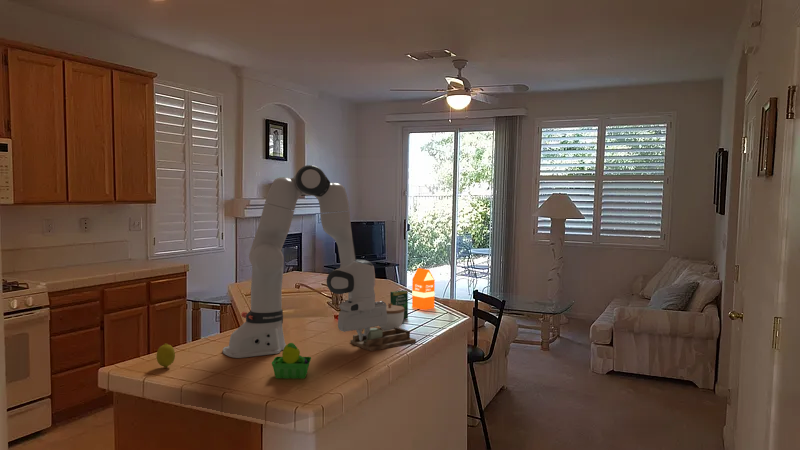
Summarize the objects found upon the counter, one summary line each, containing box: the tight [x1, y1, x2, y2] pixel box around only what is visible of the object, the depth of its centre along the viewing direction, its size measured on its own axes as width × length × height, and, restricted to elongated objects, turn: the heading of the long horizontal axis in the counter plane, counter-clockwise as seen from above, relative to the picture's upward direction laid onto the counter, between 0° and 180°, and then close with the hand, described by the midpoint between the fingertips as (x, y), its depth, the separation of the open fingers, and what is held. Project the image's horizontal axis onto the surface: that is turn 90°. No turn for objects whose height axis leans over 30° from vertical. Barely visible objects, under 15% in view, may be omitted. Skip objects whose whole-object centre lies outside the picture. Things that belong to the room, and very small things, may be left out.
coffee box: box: [390, 289, 409, 320], centre depth 252 cm, size 8×3×13 cm, turn 118°
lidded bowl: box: [378, 302, 405, 331], centre depth 233 cm, size 13×13×11 cm
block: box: [363, 327, 383, 342], centre depth 207 cm, size 5×5×4 cm
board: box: [350, 327, 417, 352], centre depth 210 cm, size 21×14×4 cm, turn 127°
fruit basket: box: [271, 342, 312, 380], centre depth 169 cm, size 11×9×11 cm
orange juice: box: [411, 267, 436, 310], centre depth 280 cm, size 8×9×20 cm
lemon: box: [156, 342, 176, 369], centre depth 177 cm, size 6×6×8 cm
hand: (363, 339), depth 204 cm, fingers closed
